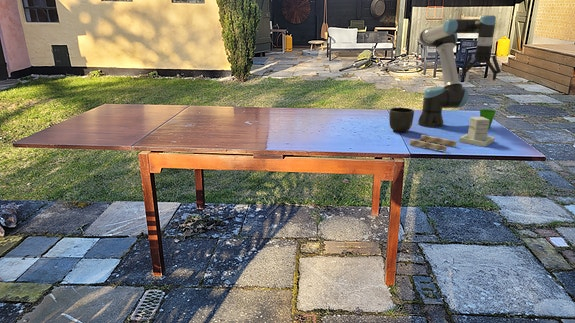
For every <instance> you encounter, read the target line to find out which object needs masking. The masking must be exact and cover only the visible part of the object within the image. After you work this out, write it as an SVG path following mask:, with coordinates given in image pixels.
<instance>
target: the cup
mask: <svg viewBox="0 0 575 323" xmlns="http://www.w3.org/2000/svg"><path fill="white" fill-rule="evenodd" d="M496 113H497V111H496V110H493V109H485V108H484V109H479V117H484V118H486V119H489V120H490V121H489V127H488V130H490V129H491V125H492V124H493V120H494V117H495V114H496Z"/></svg>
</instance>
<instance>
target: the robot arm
mask: <svg viewBox="0 0 575 323" xmlns="http://www.w3.org/2000/svg"><path fill="white" fill-rule="evenodd" d="M496 18H497V16H495V15H481V16H480V18H471V19H470V18H466V19H465V18H464V19H461V18H459V19H457V18H451V19H446V20H445V21H444V22H443V23H442V24H439V25H437V26H434V27H427V28H425V29H423V30H422V31H421V32H420V34H419V41H420V42H421V44H422V45H424V46H426V47H430V48H431V47H432V48H434V47H435V51H436V52H437V53H438V55H439V59H440V65H441V66H440V67H441V72H442V78H443V84H444V86H430V87H427V88H426V89H424V92H423V100H422V110H421V113H420V116H419V118H418V119H417V120H418V121H417V122H418V124H417V125H419V126H422V127H428V128H441V127H443V126H444V117H443V114H442V112H443V109H452V108H453V109H457V108H463V107H464V106H465V105H466V104H467V102H468V100H469V99H468V98H469V92H468V89H467V88H463V84H462V83H460V81H459V75H458V68H457V64H456V58H455V54H454V53H455V52H454V48H455V47H456V45H457V43H458V34H478V35H477V41H476V45H477V46H476V50H475V54H474V53H470V54H469V56H468V58H467V60H466V61H465V63H464V64H463V66H462V68H461V71H462V72H463V71H464V78H465V80H464V84H469V80H470V74H471V73H470V70H471V69H472V68H473V67H474V66H475V65H476V64H477V63H482V64H486V65H487V66H488V68H489V69H490V71H491V72H492V73H491V77H490V82H489V87H493V86H494V82H495V81H496V79H497V75H498V74H500V73H501V72H502V71H501V67H500V65H499V62H498V60H497V59H498V58H497V55H496V54H493V55H492V54H491V53H492V45H493V41H494V33H495V28H496ZM474 58H475V59H474ZM473 59H474V60H473ZM490 59H491V60H492V62H493V64H492V62H491V60H490ZM472 60H473V61H472ZM471 61H472V63H471Z"/></svg>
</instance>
